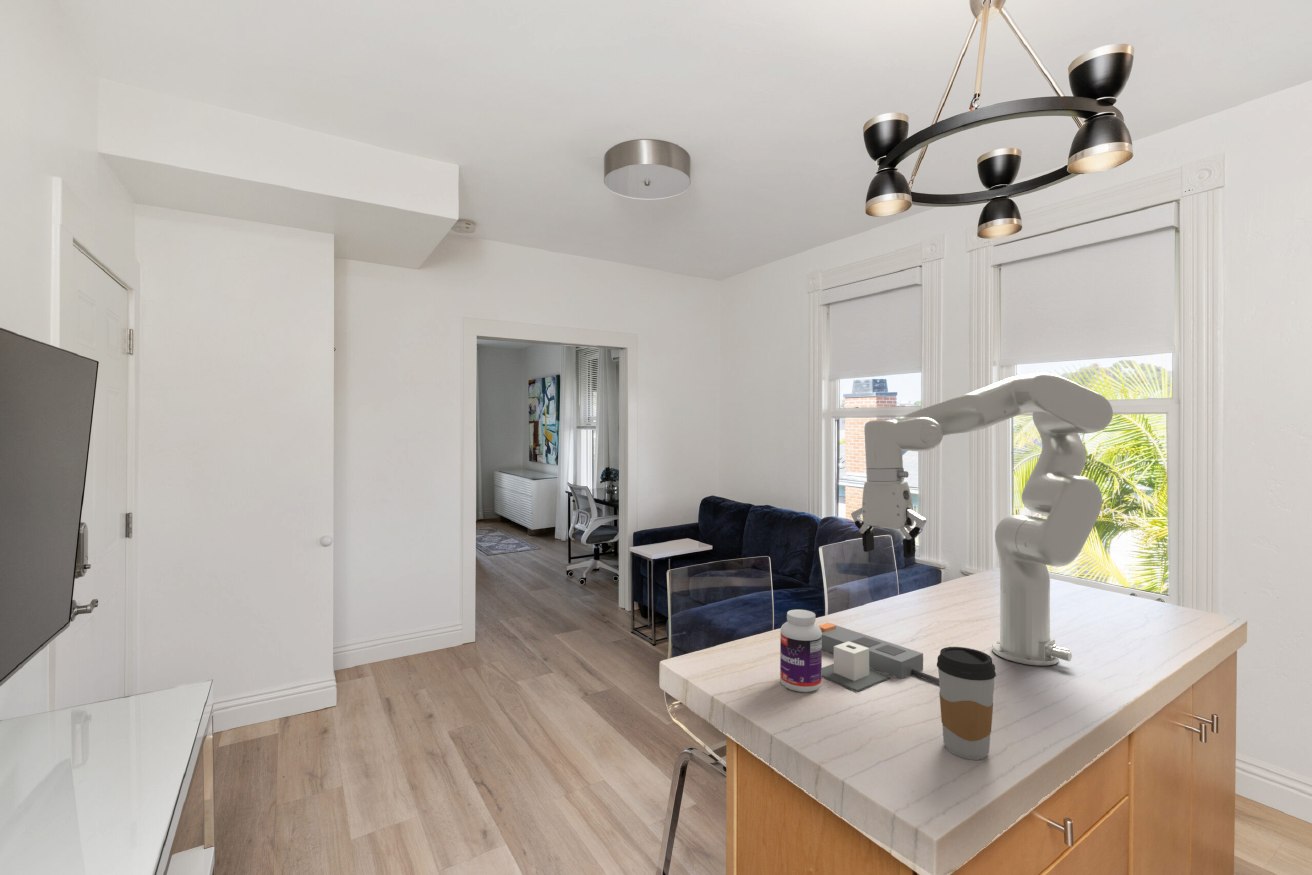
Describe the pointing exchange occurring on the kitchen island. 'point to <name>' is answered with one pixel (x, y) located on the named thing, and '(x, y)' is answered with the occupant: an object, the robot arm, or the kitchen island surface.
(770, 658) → the kitchen island surface
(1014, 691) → the kitchen island surface
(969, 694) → the coffee cup
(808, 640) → the pill bottle
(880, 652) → the power strip
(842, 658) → the block
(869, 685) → the mat
